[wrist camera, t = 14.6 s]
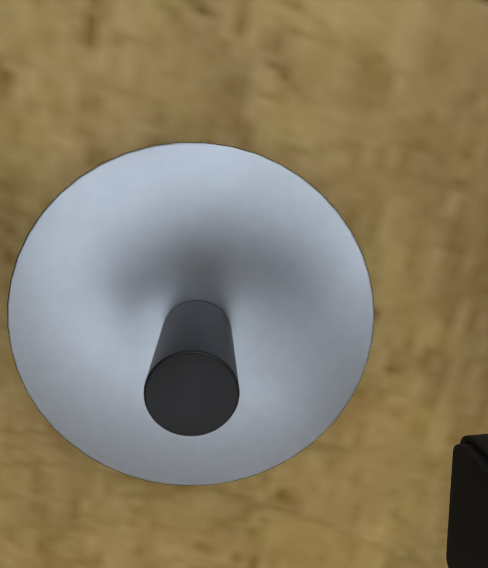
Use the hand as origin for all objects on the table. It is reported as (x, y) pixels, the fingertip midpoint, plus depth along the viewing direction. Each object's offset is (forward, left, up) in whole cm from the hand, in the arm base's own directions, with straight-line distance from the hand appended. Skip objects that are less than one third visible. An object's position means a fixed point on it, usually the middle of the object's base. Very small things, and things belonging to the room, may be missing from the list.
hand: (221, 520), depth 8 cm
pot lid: (+1, -1, -9) cm, 9 cm away
